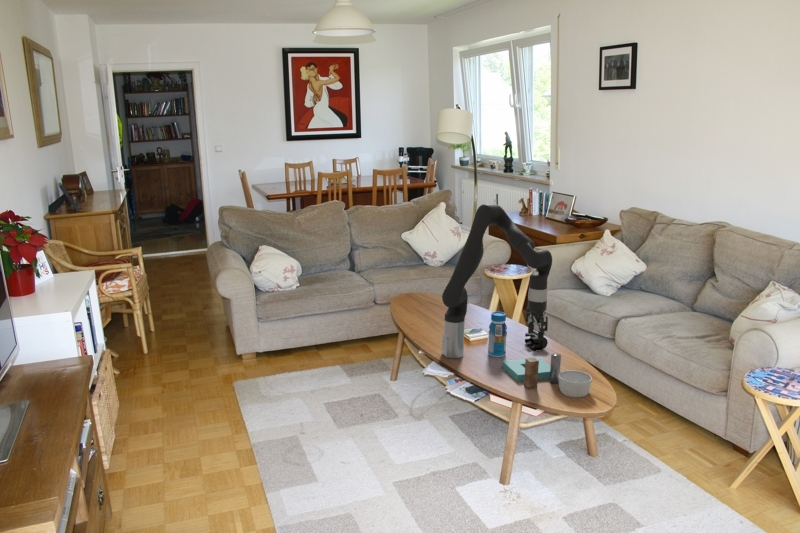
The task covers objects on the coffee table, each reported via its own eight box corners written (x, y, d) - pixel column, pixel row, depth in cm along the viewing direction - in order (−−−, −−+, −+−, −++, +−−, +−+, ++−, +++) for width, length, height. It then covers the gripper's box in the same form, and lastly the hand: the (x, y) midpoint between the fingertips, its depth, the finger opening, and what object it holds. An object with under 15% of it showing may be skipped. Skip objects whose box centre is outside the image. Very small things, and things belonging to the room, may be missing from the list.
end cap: (547, 350, 318) (548, 336, 316) (534, 351, 316) (534, 338, 314) (537, 343, 327) (538, 330, 325) (524, 344, 325) (524, 331, 323)
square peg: (528, 389, 275) (529, 361, 272) (523, 385, 278) (525, 358, 275) (537, 388, 276) (538, 361, 273) (532, 384, 279) (534, 357, 276)
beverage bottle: (484, 354, 311) (485, 313, 307) (494, 349, 317) (496, 309, 313) (499, 359, 306) (501, 317, 301) (509, 354, 312) (511, 313, 307)
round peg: (552, 384, 280) (554, 357, 277) (547, 380, 283) (549, 353, 280) (560, 383, 281) (562, 356, 278) (556, 379, 284) (558, 353, 281)
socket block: (517, 381, 282) (517, 375, 281) (502, 367, 297) (502, 360, 296) (556, 377, 286) (556, 370, 286) (538, 363, 301) (539, 357, 301)
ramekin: (555, 396, 269) (556, 379, 267) (559, 383, 281) (560, 367, 279) (589, 401, 264) (590, 385, 263) (592, 388, 276) (593, 372, 274)
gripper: (521, 294, 276) (519, 331, 280) (537, 304, 263) (535, 343, 267) (537, 293, 278) (535, 330, 282) (554, 302, 265) (552, 341, 269)
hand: (535, 336), depth 274 cm, fingers open, 8 cm apart
